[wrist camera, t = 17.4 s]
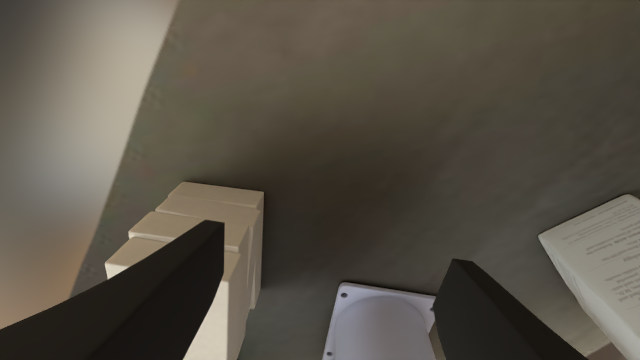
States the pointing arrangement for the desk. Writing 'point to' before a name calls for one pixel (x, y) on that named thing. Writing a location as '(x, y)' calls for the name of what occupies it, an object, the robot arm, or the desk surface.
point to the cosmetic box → (603, 267)
